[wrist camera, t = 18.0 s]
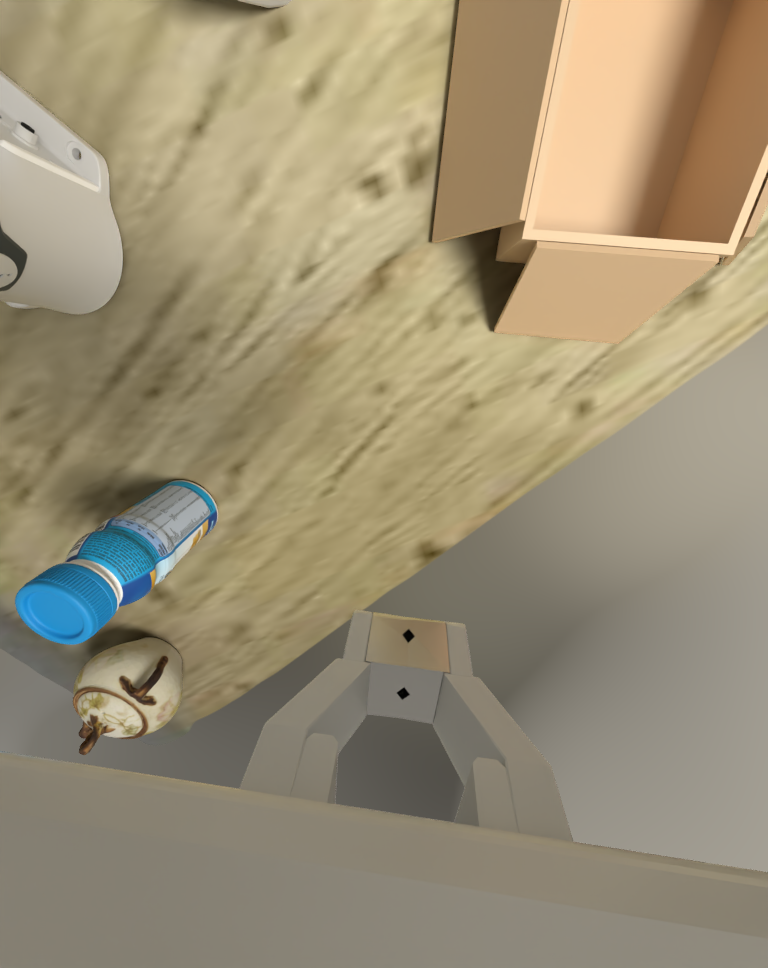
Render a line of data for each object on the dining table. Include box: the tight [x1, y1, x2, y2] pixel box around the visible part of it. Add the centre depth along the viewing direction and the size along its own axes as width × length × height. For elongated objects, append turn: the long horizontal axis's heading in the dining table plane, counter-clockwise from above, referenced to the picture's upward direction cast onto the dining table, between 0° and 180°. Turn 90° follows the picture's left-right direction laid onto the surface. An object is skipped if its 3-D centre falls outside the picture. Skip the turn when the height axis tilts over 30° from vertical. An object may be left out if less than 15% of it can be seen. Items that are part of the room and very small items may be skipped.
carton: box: [432, 0, 768, 344], centre depth 27 cm, size 24×26×10 cm
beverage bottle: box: [15, 480, 218, 644], centre depth 39 cm, size 8×8×20 cm
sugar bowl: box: [73, 637, 183, 755], centre depth 54 cm, size 20×15×15 cm
